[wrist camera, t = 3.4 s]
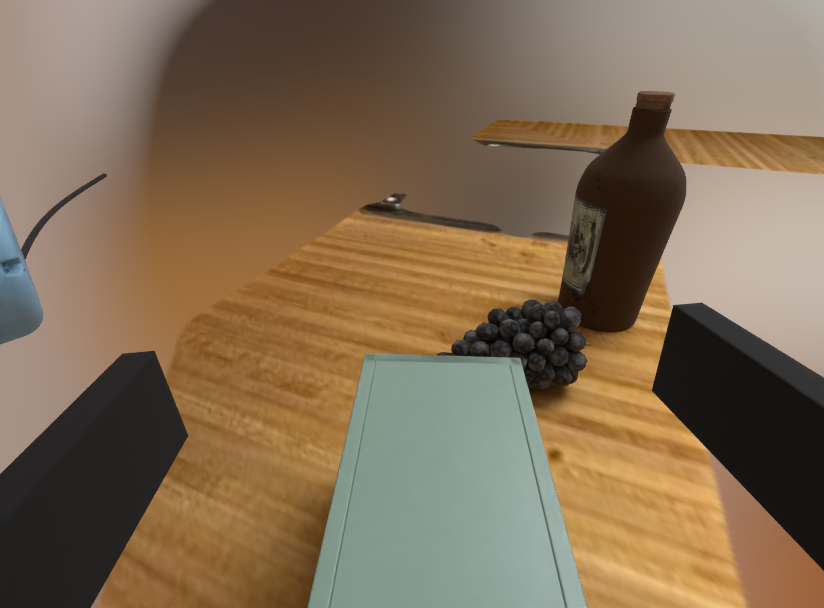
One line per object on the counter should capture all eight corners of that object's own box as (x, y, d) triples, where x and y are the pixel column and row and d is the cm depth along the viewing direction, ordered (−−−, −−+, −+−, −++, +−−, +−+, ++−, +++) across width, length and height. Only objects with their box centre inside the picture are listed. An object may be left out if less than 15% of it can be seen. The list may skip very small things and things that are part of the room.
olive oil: (617, 289, 57) (678, 87, 44) (658, 334, 48) (751, 98, 35) (542, 290, 57) (580, 88, 44) (569, 336, 48) (628, 99, 35)
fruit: (437, 320, 35) (608, 307, 36) (426, 299, 43) (565, 288, 44) (441, 413, 37) (602, 398, 38) (429, 376, 45) (563, 364, 46)
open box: (540, 747, 20) (599, 649, 14) (336, 733, 20) (301, 631, 14) (499, 474, 33) (520, 357, 26) (374, 469, 33) (365, 352, 27)
